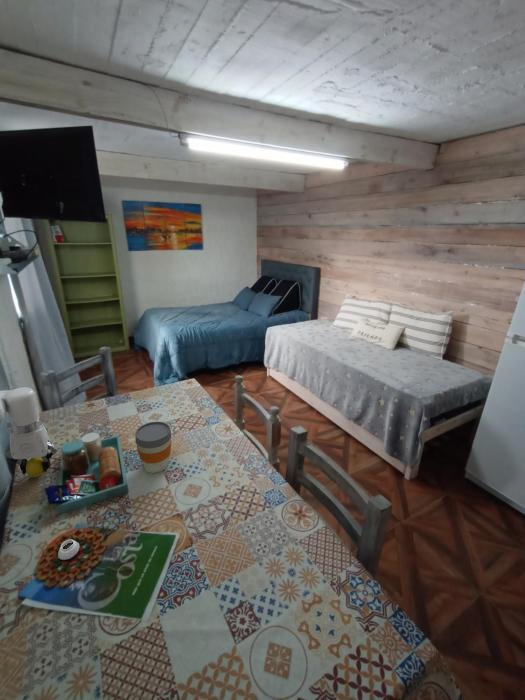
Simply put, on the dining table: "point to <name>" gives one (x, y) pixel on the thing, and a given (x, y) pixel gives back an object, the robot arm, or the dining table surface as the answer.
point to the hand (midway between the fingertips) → (36, 469)
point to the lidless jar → (68, 550)
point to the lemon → (34, 467)
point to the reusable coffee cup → (154, 445)
